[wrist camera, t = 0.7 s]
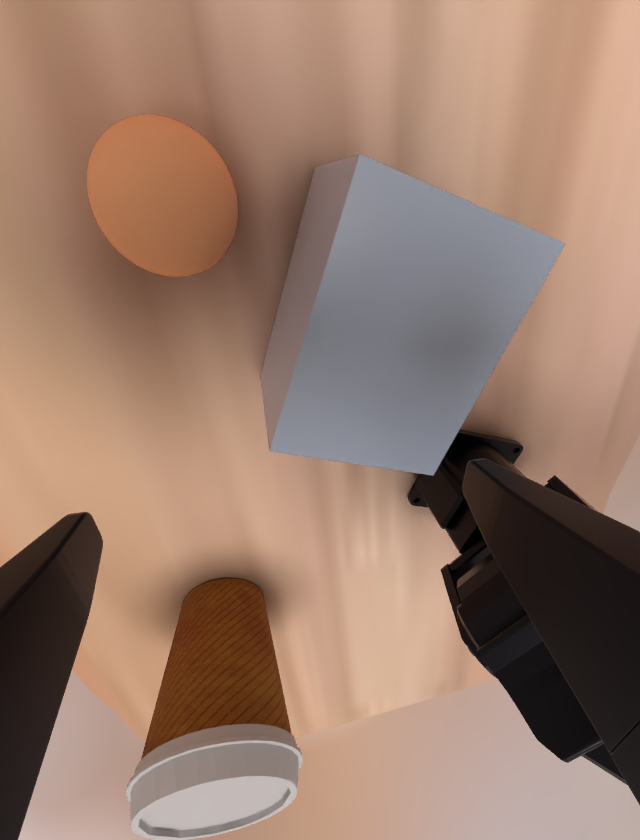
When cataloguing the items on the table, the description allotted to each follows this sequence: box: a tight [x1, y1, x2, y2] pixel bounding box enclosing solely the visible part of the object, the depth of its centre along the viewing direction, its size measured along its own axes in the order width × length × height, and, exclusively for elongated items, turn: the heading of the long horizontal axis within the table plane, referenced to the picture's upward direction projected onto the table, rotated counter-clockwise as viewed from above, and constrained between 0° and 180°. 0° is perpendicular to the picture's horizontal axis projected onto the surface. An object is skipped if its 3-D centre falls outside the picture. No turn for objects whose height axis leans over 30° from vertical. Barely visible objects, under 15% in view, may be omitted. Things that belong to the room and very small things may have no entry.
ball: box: [87, 114, 238, 277], centre depth 14 cm, size 5×5×5 cm
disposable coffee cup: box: [126, 578, 303, 840], centre depth 25 cm, size 10×10×12 cm
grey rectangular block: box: [260, 154, 565, 475], centre depth 16 cm, size 8×10×7 cm
